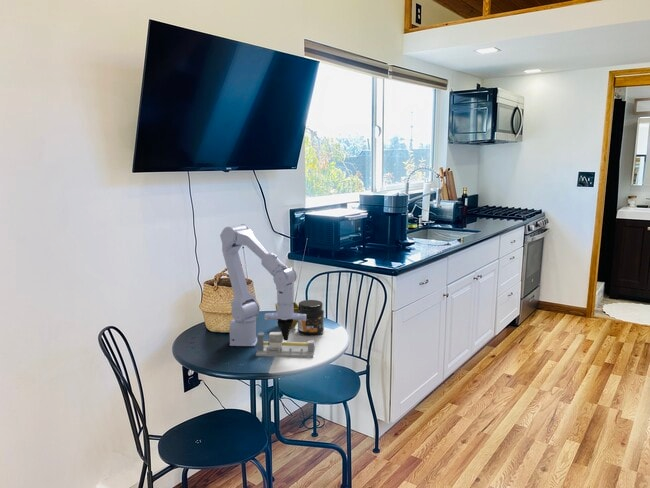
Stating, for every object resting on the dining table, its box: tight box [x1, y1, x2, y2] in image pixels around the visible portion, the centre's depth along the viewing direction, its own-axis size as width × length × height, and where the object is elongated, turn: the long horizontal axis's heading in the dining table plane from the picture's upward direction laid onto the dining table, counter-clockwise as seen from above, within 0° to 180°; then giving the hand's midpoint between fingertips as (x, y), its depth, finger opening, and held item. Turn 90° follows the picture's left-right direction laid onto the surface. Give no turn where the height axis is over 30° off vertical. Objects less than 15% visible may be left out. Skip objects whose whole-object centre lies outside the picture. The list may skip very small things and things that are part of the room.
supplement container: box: [297, 299, 325, 337], centre depth 194 cm, size 10×10×12 cm
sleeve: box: [268, 331, 284, 350], centre depth 175 cm, size 4×3×6 cm
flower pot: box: [275, 301, 299, 329], centre depth 201 cm, size 9×9×9 cm
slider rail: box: [255, 331, 316, 358], centre depth 175 cm, size 20×9×6 cm, turn 87°
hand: (285, 339), depth 174 cm, fingers closed
